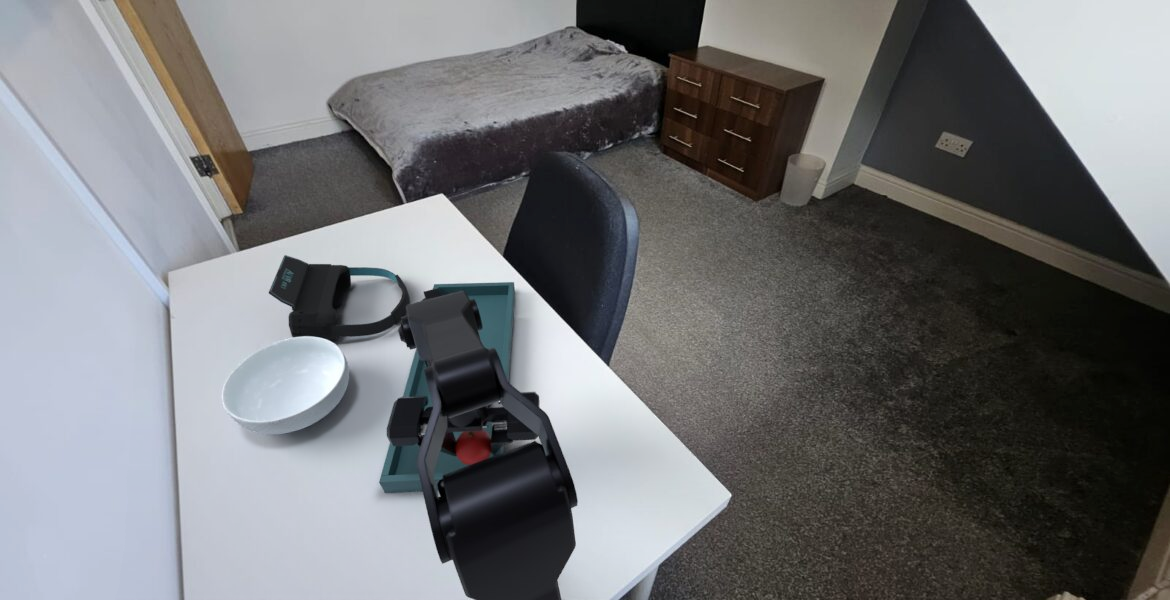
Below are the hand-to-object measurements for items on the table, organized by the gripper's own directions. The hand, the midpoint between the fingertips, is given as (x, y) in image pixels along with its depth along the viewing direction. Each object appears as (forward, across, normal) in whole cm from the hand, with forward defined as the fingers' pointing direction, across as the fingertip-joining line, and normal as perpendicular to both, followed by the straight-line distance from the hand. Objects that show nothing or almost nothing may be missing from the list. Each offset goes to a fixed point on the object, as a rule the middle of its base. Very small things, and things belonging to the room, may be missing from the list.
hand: (475, 452), depth 66 cm
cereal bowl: (+4, +30, -12) cm, 32 cm away
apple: (+1, 0, 0) cm, 1 cm away
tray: (+3, +4, -17) cm, 18 cm away
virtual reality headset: (+4, +28, -34) cm, 44 cm away
